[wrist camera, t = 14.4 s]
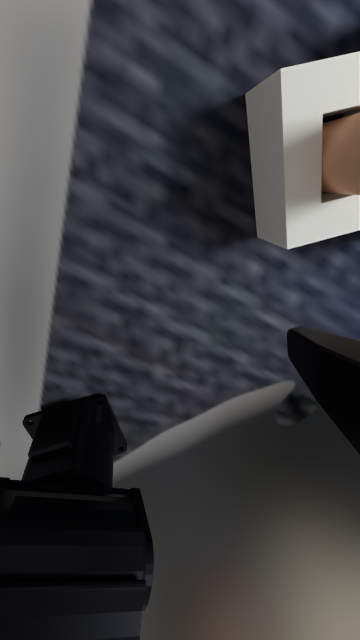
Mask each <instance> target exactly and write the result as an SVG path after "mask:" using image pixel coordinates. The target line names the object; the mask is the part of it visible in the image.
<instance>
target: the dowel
mask: <svg viewBox="0 0 360 640" xmlns="http://www.w3.org/2000/svg"><path fill="white" fill-rule="evenodd" d="M321 193H330V194H349V195H360V113H357V114H353V115H350V116H346V117H343V118H340V119H336V120H333V121H329V122H326V123H323V124H322V180H321Z"/></svg>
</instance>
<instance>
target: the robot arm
mask: <svg viewBox="0 0 360 640" xmlns="http://www.w3.org/2000/svg"><path fill="white" fill-rule="evenodd" d="M287 348H288V356H289V358H290V360H291V362H292V364H293V365H294V367H295V368H296V370H297V371H298V373H299V375H300V376H301V378H302V379H303V381H304V383H305V384H306V386H307V387H308V389H309V390H310V392H311V394H312V395H313V397H314V398H315V399H316V401H317V402H318V404H319V405H320V406H321V407H322V409H323V410H324V411H325V412H326V414H327V415H328V416H329V417H330V419H331V420H332V421H333V422H334V424H335V425H336V426H337V427H338V429H339V430H340V431H341V432H342V433H343V435H344V436H345V437H346V438H347V440H348V441H349V442H350V444H351V445H352V446H353V447H354V449H355V450H356V451H357V452H358V454H359V455H360V341H359V340H355V339H351V338H347V337H343V336H339V335H335V334H331V333H327V332H323V331H319V330H315V329H311V328H307V327H303V326H299V327H296V328H292V329H289V330H288V332H287ZM98 400H102V401H101V402H99V401H98ZM30 421H32V422H30ZM23 425H24V427H25V428H26V430H27V431H28V433H29V435H30V436H31V438H32V439H33V441H32V444H31V447H30V450H29V453H28V457H29V459H28V462H27V465H26V468H25V471H24V474H23V477H22V480H21V481H20V480H10V478H4V477H0V640H140V629H141V617H142V613H143V612H144V611H145V609H146V607H147V605H148V601H149V598H150V593H151V588H152V579H153V566H154V553H153V543H152V537H151V532H150V528H149V524H148V520H147V516H146V512H145V508H144V504H143V500H142V496H141V492H140V489H139V488H131V489H123V488H113V456H114V455H117V454H121V453H124V452H125V451H126V450H127V443H126V440H125V438H124V436H123V434H122V431H121V429H120V427H119V424H118V422H117V420H116V418H115V415H114V413H113V411H112V408H111V406H110V404H109V402H108V399H107V397H106V396H105V395H103V394H98V395H94V396H91V397H87V398H84V399H80V400H77V401H73V402H69V403H66V404H62V405H59V406H56V407H52V408H49V409H45V410H43V411H39V412H36V413H32V414H29V415H26V416H25V417H24V420H23Z"/></svg>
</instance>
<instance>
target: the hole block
mask: <svg viewBox="0 0 360 640" xmlns="http://www.w3.org/2000/svg"><path fill="white" fill-rule="evenodd" d="M245 97H246V109H247V121H248V133H249V144H250V156H251V168H252V180H253V192H254V204H255V216H256V228H257V237H258V238H260V239H263V240H265V241H267V242H270V243H272V244H275V245H277V246H280V247H282V248H285V249H291V248H295V247H299V246H302V245H306V244H310V243H314V242H318V241H321V240H325V239H329V238H333V237H336V236H340V235H344V234H348V233H351V232H355V231H359V230H360V195H349V194H330V193H321V180H322V123H323V118H326V117H330V116H334V115H338V114H343V117H346V116H350V115H353V114H357V113H360V51H358V52H354V53H349V54H345V55H340V56H336V57H331V58H327V59H322V60H318V61H313V62H308V63H304V64H299V65H295V66H290V67H286V68H281V69H279V70H278V71H277V72H275V73H274V74H272V75H271V76H270V77H268V78H267V79H265V80H264V81H263V82H261V83H260V84H258V85H257V86H256V87H254V88H253V89H251V90H250V91H249V92H247V93H246V94H245Z"/></svg>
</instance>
